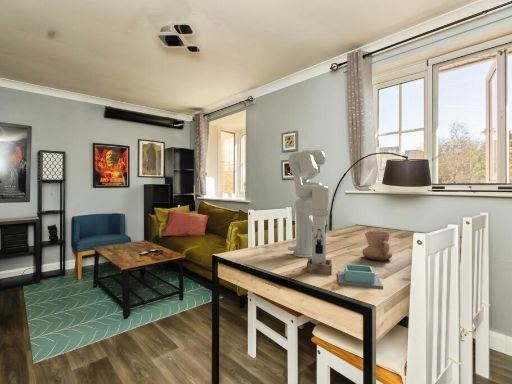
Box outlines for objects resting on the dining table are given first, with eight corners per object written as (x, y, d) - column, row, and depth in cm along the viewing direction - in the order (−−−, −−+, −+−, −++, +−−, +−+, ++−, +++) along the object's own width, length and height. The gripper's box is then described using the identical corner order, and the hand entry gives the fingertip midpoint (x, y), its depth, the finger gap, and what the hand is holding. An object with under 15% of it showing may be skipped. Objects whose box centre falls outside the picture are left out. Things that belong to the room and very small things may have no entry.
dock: (338, 284, 107) (339, 271, 107) (337, 273, 121) (337, 262, 121) (383, 288, 103) (383, 275, 103) (376, 276, 117) (377, 265, 116)
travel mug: (323, 270, 121) (324, 226, 120) (309, 268, 125) (310, 224, 124) (328, 267, 126) (328, 224, 125) (314, 264, 130) (315, 222, 129)
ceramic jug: (356, 254, 153) (356, 229, 152) (381, 254, 154) (381, 229, 153) (372, 265, 135) (373, 236, 134) (400, 264, 136) (401, 235, 135)
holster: (306, 272, 122) (306, 263, 121) (308, 266, 131) (308, 258, 131) (331, 274, 119) (331, 265, 119) (331, 268, 128) (331, 259, 128)
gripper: (312, 210, 134) (312, 246, 134) (310, 214, 117) (309, 256, 118) (328, 210, 132) (327, 247, 132) (328, 215, 115) (327, 257, 116)
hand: (319, 251), depth 125 cm, fingers closed on travel mug, 6 cm apart
